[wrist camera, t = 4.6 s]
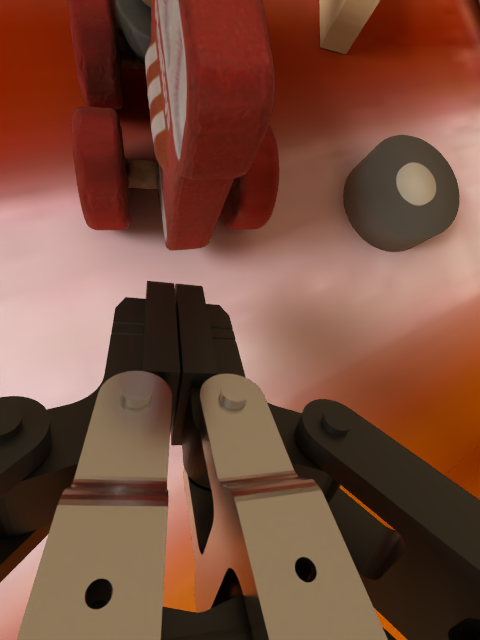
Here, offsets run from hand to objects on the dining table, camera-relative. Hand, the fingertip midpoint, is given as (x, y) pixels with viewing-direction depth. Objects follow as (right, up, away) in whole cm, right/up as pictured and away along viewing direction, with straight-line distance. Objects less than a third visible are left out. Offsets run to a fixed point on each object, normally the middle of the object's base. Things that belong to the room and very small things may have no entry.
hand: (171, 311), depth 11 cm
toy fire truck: (-1, +8, +6) cm, 10 cm away
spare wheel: (+9, +6, +8) cm, 14 cm away
